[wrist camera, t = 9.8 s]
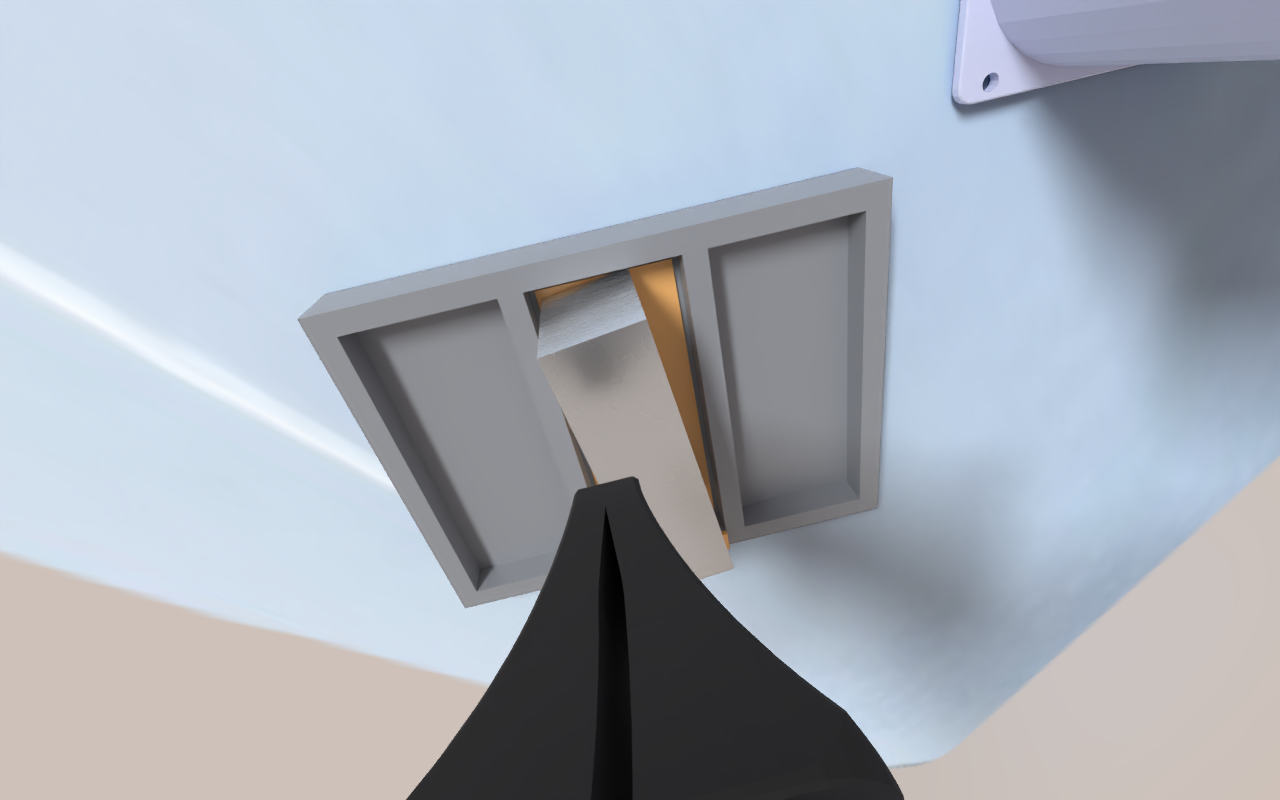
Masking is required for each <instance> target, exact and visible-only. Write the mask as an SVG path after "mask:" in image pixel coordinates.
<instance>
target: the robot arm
mask: <svg viewBox="0 0 1280 800" xmlns="http://www.w3.org/2000/svg"><path fill="white" fill-rule="evenodd" d="M1257 60H1280V0H961V2H960V13H959V23H958V34H957V45H956V55H955V66H954V77H953V87H952V93H953V98H954V100H955V101H956V102H957V103H959V104H976V103H980V102H984V101H988V100H992V99H997V98H1001V97H1005V96H1009V95H1013V94H1018V93H1022V92H1026V91H1030V90H1034V89H1039V88H1043V87H1047V86H1051V85H1056V84H1060V83H1064V82H1068V81H1072V80H1077V79H1081V78H1085V77H1089V76H1093V75H1098V74H1102V73H1106V72H1110V71H1114V70H1119V69H1123V68H1127V67H1131V66H1136V65H1140V64H1159V63H1192V62H1224V61H1257ZM988 74H989V75H990V83H989V86H988V87H987V88H986V90H983V86H982V84H983V81H984V79H985V77H986V76H987V75H988ZM406 800H904V797H903V794H902V792H901V790H900V788H899V786H898V784H897V782H896V780H895V779H894V777H893V775H892V774H891V772H890V771H889V769H888V767H887V766H886V764H885V763H884V761H883V760H882V758H881V757H880V755H879V754H878V752H877V751H876V749H875V748H874V747H873V745H872V744H871V743H870V741H869V740H868V739H867V737H866V736H865V735H864V733H863V732H862V731H861V730H860V728H859V727H858V726H857V725H856V723H855V722H854V721H853V720H852V718H851V717H850V716H849V714H848V713H847V712H846V711H845V710H844V709H842V708H841V707H840V706H839V705H837V704H836V703H834V702H833V701H832V700H830V699H829V698H828V697H826V696H825V695H824V694H822V693H821V692H820V691H818V690H817V689H816V688H815V687H813V686H812V685H811V684H809V683H808V682H807V681H806V680H804V679H803V678H802V677H800V676H799V675H798V674H797V673H796V672H794V671H793V670H792V669H791V668H790V667H788V666H787V665H786V664H785V663H784V662H782V661H781V660H780V659H779V658H778V657H776V656H775V655H774V654H773V653H772V652H771V651H770V650H769V649H768V648H766V647H765V646H764V645H763V644H762V643H761V642H760V641H759V640H758V639H757V638H756V637H755V636H753V635H752V634H751V633H750V632H749V631H748V630H747V629H746V628H745V627H744V626H743V625H742V624H740V623H739V622H738V621H737V620H736V619H735V618H734V617H733V616H732V615H731V613H730V612H729V611H728V610H727V609H726V608H725V607H724V606H723V605H722V604H721V603H720V602H719V601H718V600H717V599H716V598H715V597H714V595H713V594H712V593H711V592H710V591H709V590H708V589H707V588H706V587H705V585H704V584H703V583H702V582H701V581H700V580H699V578H698V577H697V576H696V575H695V574H694V572H693V571H692V570H691V569H690V567H689V566H688V565H687V563H686V562H685V561H684V560H683V558H682V557H681V556H680V554H679V553H678V552H677V550H676V549H675V547H674V546H673V545H672V543H671V542H670V540H669V539H668V537H667V536H666V534H665V533H664V531H663V530H662V528H661V527H660V525H659V523H658V522H657V520H656V518H655V517H654V515H653V513H652V511H651V509H650V508H649V506H648V504H647V502H646V500H645V498H644V495H643V493H642V490H641V486H640V483H639V479H637V478H635V477H633V476H631V477H627V478H623V479H619V480H615V481H611V482H607V483H603V484H599V485H595V486H591V487H587V488H583V489H579V490H577V492H576V493H575V495H574V499H573V503H572V507H571V510H570V514H569V517H568V521H567V524H566V527H565V530H564V533H563V536H562V539H561V542H560V544H559V547H558V550H557V552H556V555H555V558H554V561H553V563H552V566H551V568H550V571H549V573H548V576H547V578H546V580H545V582H544V585H543V587H542V589H541V592H540V594H539V596H538V598H537V601H536V603H535V605H534V607H533V609H532V611H531V613H530V615H529V617H528V619H527V621H526V623H525V625H524V627H523V629H522V631H521V633H520V635H519V637H518V639H517V640H516V642H515V644H514V646H513V648H512V650H511V651H510V653H509V655H508V657H507V658H506V660H505V661H504V663H503V665H502V666H501V668H500V670H499V671H498V673H497V675H496V676H495V678H494V680H493V681H492V683H491V685H490V686H489V688H488V689H487V691H486V693H485V694H484V696H483V697H482V699H481V700H480V702H479V703H478V705H477V706H476V708H475V709H474V711H473V712H472V713H471V715H470V716H469V718H468V719H467V720H466V722H465V723H464V725H463V726H462V727H461V729H460V730H459V732H458V733H457V734H456V736H455V737H454V739H453V740H452V741H451V743H450V744H449V746H448V747H447V749H446V750H445V751H444V753H443V754H442V755H441V757H440V758H439V759H438V760H437V762H436V763H435V764H434V766H433V767H432V768H431V770H430V771H429V772H428V773H427V774H426V776H425V777H424V778H423V779H422V781H421V782H420V783H419V784H418V786H417V787H416V788H415V789H414V791H413V792H412V793H411V794H410V796H409V797H408V798H407V799H406Z"/></svg>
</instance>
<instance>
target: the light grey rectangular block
mask: <svg viewBox="0 0 1280 800" xmlns="http://www.w3.org/2000/svg"><path fill="white" fill-rule="evenodd" d="M537 360H538V362H539V364H540V366H541V368H542V370H543V372H544V374H545V376H546V378H547V381H548V383H549V385H550V387H551V389H552V391H553V393H554V395H555V397H556V399H557V401H558V403H559V405H560V407H561V409H562V411H563V413H564V415H565V417H566V419H567V421H568V423H569V425H570V427H571V429H572V431H573V433H574V435H575V437H576V439H577V441H578V443H579V445H580V447H581V449H582V451H583V453H584V455H585V457H586V459H587V462H588V464H589V466H590V468H591V470H592V472H593V474H594V476H595V478H596V480H597V482H598V484H603V483H607V482H611V481H615V480H619V479H623V478H627V477H631V476H633V477H635V478H637V479H639V483H640V486H641V490H642V493H643V495H644V498H645V500H646V502H647V504H648V506H649V508H650V509H651V511H652V513H653V515H654V517H655V518H656V520H657V522H658V523H659V525H660V527H661V528H662V530H663V531H664V533H665V534H666V536H667V537H668V539H669V540H670V542H671V543H672V545H673V546H674V547H675V549H676V550H677V552H678V553H679V554H680V556H681V557H682V558H683V560H684V561H685V562H686V563H687V565H688V566H689V567H690V569H691V570H692V571H693V572H694V574H695V575H696V576H697V577H698V578H699V580H700V579H703V578H706V577H709V576H712V575H715V574H718V573H721V572H724V571H727V570H730V569H733V568H734V567H733V564H732V561H731V558H730V555H729V552H728V550H727V547H726V544H725V541H724V538H723V535H722V532H721V530H720V527H719V524H718V521H717V518H716V515H715V513H714V510H713V507H712V504H711V501H710V498H709V495H708V493H707V490H706V487H705V484H704V481H703V478H702V476H701V473H700V470H699V467H698V464H697V461H696V458H695V456H694V453H693V450H692V447H691V444H690V441H689V439H688V436H687V433H686V430H685V427H684V424H683V421H682V419H681V416H680V413H679V410H678V407H677V404H676V402H675V399H674V396H673V393H672V390H671V387H670V384H669V382H668V379H667V376H666V373H665V370H664V367H663V365H662V362H661V359H660V356H659V353H658V350H657V347H656V345H655V342H654V339H653V336H652V333H651V330H650V328H649V325H648V322H647V319H646V316H645V314H644V311H643V308H642V305H641V303H640V300H639V297H638V294H637V292H636V289H635V286H634V284H633V281H632V278H631V275H630V273H629V270H628V268H624V269H621V270H618V271H615V272H613V273H610V274H607V275H605V276H602V277H599V278H597V279H594V280H591V281H588V282H586V283H583V284H580V285H578V286H575V287H572V288H569V289H567V290H564V291H561V292H559V293H556V294H553V295H551V296H548V297H545V298H542V302H541V314H540V326H539V338H538V351H537Z"/></svg>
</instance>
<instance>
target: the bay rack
mask: <svg viewBox="0 0 1280 800" xmlns="http://www.w3.org/2000/svg"><path fill="white" fill-rule="evenodd" d="M892 185H893V177H890V176H886V175H883V174H879V173H876V172H872V171H869V170H865V169H862V168H853V169H849V170H845V171H841V172H836V173H832V174H828V175H824V176H820V177H815V178H811V179H807V180H803V181H799V182H794V183H790V184H786V185H782V186H778V187H773V188H769V189H765V190H761V191H757V192H752V193H748V194H744V195H740V196H736V197H731V198H727V199H723V200H719V201H715V202H710V203H706V204H702V205H698V206H694V207H689V208H685V209H681V210H677V211H673V212H668V213H664V214H660V215H656V216H652V217H647V218H643V219H639V220H635V221H631V222H626V223H622V224H618V225H614V226H610V227H605V228H601V229H597V230H593V231H589V232H584V233H580V234H576V235H572V236H568V237H563V238H559V239H555V240H551V241H546V242H542V243H538V244H534V245H530V246H525V247H521V248H517V249H513V250H509V251H504V252H500V253H496V254H492V255H488V256H483V257H479V258H475V259H471V260H467V261H462V262H458V263H454V264H450V265H446V266H441V267H437V268H433V269H429V270H425V271H420V272H416V273H412V274H408V275H404V276H399V277H395V278H391V279H387V280H383V281H378V282H374V283H370V284H366V285H362V286H357V287H353V288H349V289H345V290H341V291H336V292H332V293H328V294H325V295H324V296H322V297H321V298H320V299H319V300H318V301H317V302H316V303H315V304H314V305H313V306H311V307H310V308H309V309H308V310H307V311H306V312H305V313H304V314H303V315H301V316H300V317H299V318H298V319H297V320H298V321H299V323H300V325H301V326H302V328H303V330H304V332H305V333H306V335H307V337H308V338H309V340H310V342H311V344H312V345H313V347H314V349H315V351H316V352H317V354H318V356H319V357H320V359H321V361H322V363H323V364H324V366H325V368H326V369H327V371H328V373H329V375H330V376H331V378H332V380H333V382H334V383H335V385H336V387H337V388H338V390H339V392H340V394H341V395H342V397H343V399H344V400H345V402H346V404H347V406H348V407H349V409H350V411H351V413H352V414H353V416H354V418H355V419H356V421H357V423H358V425H359V426H360V428H361V430H362V431H363V433H364V435H365V437H366V438H367V440H368V442H369V444H370V445H371V447H372V449H373V450H374V452H375V454H376V456H377V457H378V459H379V461H380V462H381V464H382V466H383V468H384V469H385V471H386V473H387V475H388V476H389V478H390V480H391V481H392V483H393V485H394V487H395V488H396V490H397V492H398V493H399V495H400V497H401V499H402V500H403V502H404V504H405V506H406V507H407V509H408V511H409V512H410V514H411V516H412V518H413V519H414V521H415V523H416V525H417V526H418V528H419V530H420V531H421V533H422V535H423V537H424V538H425V540H426V542H427V543H428V545H429V547H430V549H431V550H432V552H433V554H434V556H435V557H436V559H437V561H438V562H439V564H440V566H441V568H442V569H443V571H444V573H445V574H446V576H447V578H448V580H449V581H450V583H451V585H452V587H453V588H454V590H455V592H456V593H457V595H458V597H459V599H460V600H461V602H462V604H463V605H464V607H465V608H468V607H472V606H476V605H480V604H485V603H489V602H493V601H497V600H501V599H505V598H509V597H513V596H518V595H522V594H526V593H530V592H534V591H538V590H541V589H542V587H543V585H544V582H545V580H546V578H547V576H548V573H549V571H550V568H551V566H552V563H553V561H554V558H555V555H556V552H557V550H558V547H559V544H560V542H561V539H562V536H563V533H564V530H565V527H566V524H567V521H568V517H569V514H570V510H571V507H572V503H573V499H574V495H575V493H576V492H577V490H579V489H583V488H587V487H591V486H595V485H599V484H598V482H597V480H596V478H595V476H594V474H593V472H592V470H591V468H590V466H589V464H588V462H587V459H586V457H585V455H584V453H583V451H582V449H581V447H580V445H579V443H578V441H577V439H576V437H575V435H574V433H573V431H572V429H571V427H570V425H569V423H568V421H567V419H566V417H565V415H564V413H563V411H562V409H561V407H560V405H559V403H558V401H557V399H556V397H555V395H554V393H553V391H552V389H551V387H550V385H549V383H548V381H547V378H546V376H545V374H544V372H543V370H542V368H541V366H540V364H539V362H538V360H537V351H538V338H539V326H540V314H541V302H542V298H545V297H548V296H551V295H553V294H556V293H559V292H561V291H564V290H567V289H569V288H572V287H575V286H578V285H580V284H583V283H586V282H588V281H591V280H594V279H597V278H599V277H602V276H605V275H607V274H610V273H613V272H615V271H618V270H621V269H624V268H628V270H629V273H630V275H631V278H632V281H633V284H634V286H635V289H636V292H637V294H638V297H639V300H640V303H641V305H642V308H643V311H644V314H645V316H646V319H647V322H648V325H649V328H650V330H651V333H652V336H653V339H654V342H655V345H656V347H657V350H658V353H659V356H660V359H661V362H662V365H663V367H664V370H665V373H666V376H667V379H668V382H669V384H670V387H671V390H672V393H673V396H674V399H675V402H676V404H677V407H678V410H679V413H680V416H681V419H682V421H683V424H684V427H685V430H686V433H687V436H688V439H689V441H690V444H691V447H692V450H693V453H694V456H695V458H696V461H697V464H698V467H699V470H700V473H701V476H702V478H703V481H704V484H705V487H706V490H707V493H708V495H709V498H710V501H711V504H712V507H713V510H714V513H715V515H716V518H717V521H718V524H719V527H720V530H721V532H722V535H723V538H724V541H725V544H726V547H727V549H730V547H729V544H732V543H736V542H740V541H744V540H748V539H752V538H757V537H761V536H765V535H769V534H773V533H777V532H781V531H785V530H790V529H794V528H798V527H802V526H806V525H810V524H814V523H818V522H823V521H827V520H831V519H835V518H839V517H843V516H847V515H851V514H856V513H860V512H864V511H868V510H872V509H876V508H877V506H878V484H879V463H880V441H881V420H882V399H883V377H884V356H885V335H886V313H887V292H888V270H889V249H890V228H891V206H892Z"/></svg>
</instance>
